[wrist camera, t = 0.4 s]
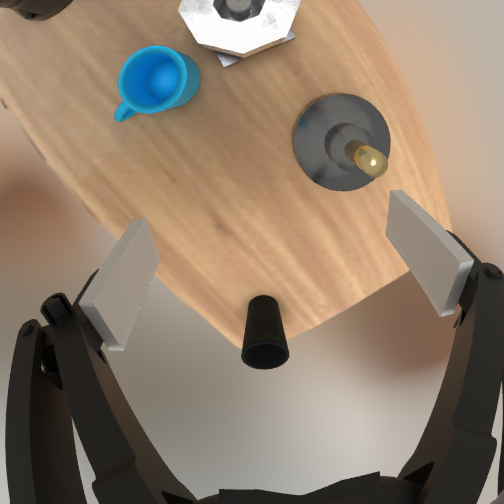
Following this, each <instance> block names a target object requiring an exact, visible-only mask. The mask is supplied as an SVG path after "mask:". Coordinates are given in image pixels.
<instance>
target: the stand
mask: <svg viewBox="0 0 504 504" xmlns="http://www.w3.org/2000/svg"><path fill="white" fill-rule="evenodd" d="M261 10H262V7H261V5H260V3H259V2H258V0H224V1H223V2H222V4H221V6H220V9H219V11H218V14H219V16H220V17H221V19H226V20H230V21H234V22H239V23H242V22H244V21H247V20H249V19H252V18H254V17H257V16H259V15H260V13H261ZM294 39H295V36H294V34H293V32H292V30H291V29H290V28H289V31H288V33H287V36H286V37H285V39H284V40H283V42H282V43H279V44H277V45H280V44H283V43H285V42H288V41H291V40H294ZM277 45H274V46H271V47H269V48H266V49H264V50H261V51H259V52H257V53H260V52H262V51H265V50H267V49H270V48H272V47H275V46H277ZM214 51H215V50H214ZM215 53H216V54H217V56H218V58H219V60H220V61H221V63H222V65H223V66H224V68H226V67H228V66H231V65H233V64H235V63H237V62H239V61H241V60H244V59H246V58H248V57H250V56H253V55H255V54H257V53H254V54H252V55H250V56H247V57H245V58H243V57H239V56H236V55H232V54H228V53H224V52H220V51H215Z"/></svg>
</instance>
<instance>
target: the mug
mask: <svg viewBox="0 0 504 504" xmlns="http://www.w3.org/2000/svg"><path fill="white" fill-rule="evenodd" d="M199 83H200V72H199V69H198V67H197V65H196V63H195V62H194V61H193V60H192V59H190V58H189V57H188V56H186V55H184V54H182V53H180V52H178V51H175V50H173V49H171V48H168V47H165V46H149V47H146V48H142V49H140V50H138V51H137V52H136V53H134V54H133V55H131V56H130V57H129V59H128V60H127V61H126V62H125V63H124V65H123V67H122V69H121V72H120V74H119V81H118V87H119V93H120V96H121V97H122V99H123V102H122V103H121V104H120V106H119V107H118V108H117V110H116V112H115V114H114V118H115V120H116V121H117V122H122V121H124V120H126V119H128V118H129V117H131V116H133V115H134V114H135V113H137V112H140V113H155V112H159V111H163V110H167V109H171V108H174V107H178V106H181V105H183V104H185V103H186V102H188V101H189V100H190V99H191V98H192V97H193V96H194V95H195V93H196V91H197V89H198V88H199Z"/></svg>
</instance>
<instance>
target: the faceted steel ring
mask: <svg viewBox="0 0 504 504" xmlns="http://www.w3.org/2000/svg"><path fill="white" fill-rule="evenodd" d="M223 1H224V0H182V2H181V5H180V7H179V9H178V12H179V13H180V15H181V16H182V18H183V19H184V21H185V23H186V24H187V26H188V27H189V29H190V31H191V32H192V34H193V35H194V37H195V39H196V40H197V42H198V43H199V44H200V45H201V46H203V47H204V48H206V49H211V50H215V51H220V52H224V53H228V54H232V55H236V56H239V57H243V58H245V57H247V56H250V55H252V54H254V53H257V52H259V51H261V50H264V49H266V48H269V47H271V46H274V45H277V44H279V43H282V42H283V40H284V39H285V37H286V36H287V33H288V31H289V28H290V26H291V23H292V21H293V19H294V16H295V14H296V12H297V9H298V7H299V5H300V2H301V0H258V2H259V3H260V5H261V7H262V10H261V13H260V15H259V16H257V17H254V18H252V19H249V20H247V21H244V22H242V23H239V22H234V21H230V20H226V19H221V17H220V16H219V14H218V11H219V9H220V6H221V4H222V2H223Z"/></svg>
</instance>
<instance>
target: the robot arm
mask: <svg viewBox="0 0 504 504" xmlns="http://www.w3.org/2000/svg"><path fill="white" fill-rule="evenodd" d="M71 1H72V0H0V8H10V9H12V10H13V11H15V12H16V13H17V14H19V15H20V16H21V17H23V18H25V19H27V20H34V21H41V20H45V19H48V18H50V17H52V16H54V15H56V14H57V13H59V12H60V11H61V10H63V9H64V8H65V7H66V6H67V5H68V4H69V3H70V2H71ZM386 236H387V238H388V239H389V240H390V242H391V243H392V244H393V246H394V247H395V249H396V250H397V251H398V253H399V254H400V256H401V257H402V258H403V260H404V261H405V263H406V264H407V266H408V267H409V269H410V270H411V271H412V273H413V275H414V276H415V278H416V279H417V281H418V282H419V284H420V285H421V287H422V288H423V290H424V292H425V293H426V294H427V296H428V298H429V300H430V301H431V303H432V304H433V306H434V308H435V309H436V311H437V313H438V314H439V316H440V317H442V316H446V315H449V314H453V313H454V311H455V308H456V306H457V304H458V303H459V305H460V306H461V308H462V310H461V312H460V314H459V316H458V318H457V320H456V322H455V324H454V328H455V327H456V326H457V328H456V334H455V338H454V342H453V346H452V350H451V354H450V358H449V362H448V365H447V369H446V372H445V376H444V379H443V382H442V385H441V389H440V392H439V394H438V397H437V400H436V403H435V406H434V408H433V411H432V413H431V416H430V418H429V421H428V423H427V426H426V428H425V430H424V433H423V435H422V437H421V439H420V442H419V444H418V446H417V448H416V450H415V452H414V454H413V455H412V456H411V458H410V459H409V460H408V462H407V463H406V464H405V466H404V467H403V468H402V470H401V472H400V473H399V475H398V477H397V478H396V477H389V476H380V471H378V472H374V473H371V474H367V475H363V476H359V477H354V478H350V479H345V480H341V481H339V482H336V483H334V484H332V485H329V486H327V487H324V488H321V489H319V490H316V491H314V492H311V493H308V494H305V495H291V494H283V493H276V492H270V491H264V490H259V489H255V490H233V489H232V490H231V489H219V494H216V495H212V496H208V497H205V498H203V499H200V500H197V499H196V498H195V497H194V496H193V494H192V493H191V492H190V491H189V490H188V489H187V488H186V487H185V486H184V485H183V484H182V483H181V482H179V481H178V480H177V479H176V477H175V476H174V475H173V473H172V472H171V471H170V469H169V468H168V467H167V465H166V464H165V462H164V461H163V460H162V458H161V457H160V455H159V454H158V452H157V451H156V449H155V448H154V446H153V444H152V443H151V441H150V440H149V438H148V437H147V435H146V433H145V432H144V430H143V428H142V427H141V425H140V423H139V422H138V420H137V418H136V416H135V415H134V413H133V411H132V409H131V407H130V406H129V404H128V402H127V400H126V398H125V396H124V394H123V392H122V390H121V388H120V386H119V384H118V382H117V380H116V378H115V376H114V374H113V372H112V370H111V368H110V365H109V363H108V361H107V359H106V356H105V354H104V352H103V351H102V350H101V345H102V343H103V342H104V343H105V344H106V346H107V347H108V348H109V350H118V351H124V349H125V347H126V344H127V341H128V338H129V336H130V333H131V330H132V328H133V325H134V322H135V320H136V317H137V314H138V312H139V309H140V307H141V304H142V302H143V299H144V297H145V295H146V292H147V290H148V287H149V285H150V282H151V280H152V278H153V275H154V273H155V271H156V268H157V266H158V264H159V262H160V257H159V254H158V251H157V248H156V246H155V243H154V240H153V237H152V234H151V231H150V228H149V225H148V222H147V218H141V219H135V220H133V222H132V223H131V224H130V226H129V227H128V229H127V230H126V231H125V233H124V234H123V235H122V237H121V238H120V240H119V241H118V243H117V244H116V245H115V247H114V248H113V250H112V251H111V253H110V254H109V256H108V257H107V259H106V260H105V262H104V263H103V265H102V266H101V268H100V269H98V270H97V271H95V272H94V273H93V274H92V275H91V276H90V278H89V280H88V281H87V283H86V285H85V286H84V287H83V290H82V291H81V292H80V294H79V295H78V297H77V299H76V300H75V302H74V303H73V305H72V306H71V304H70V302H69V301H68V299H67V298H66V296H65V294H64V293H56V294H54V295H52V296H50V297H49V298H47V299H46V301H45V302H44V303H43V304H42V306H41V310H40V311H41V313H42V314H43V316H44V317H45V319H46V320H47V322H48V323H49V325H47V326H44V327H42V326H41V325H40V324H39V322H38V321H37V320H36V319H32V320H29V321H27V322H25V324H23V325H22V327H21V329H20V330H19V333H18V336H17V340H16V345H15V350H14V355H13V361H12V366H11V373H10V380H9V388H8V397H7V409H6V431H5V433H6V434H5V442H6V443H5V448H6V449H5V450H6V470H7V481H8V489H9V496H10V504H87V501H86V497H85V493H84V489H83V485H82V481H81V476H80V471H79V466H78V461H77V455H76V449H75V442H74V436H73V435H74V434H73V426H72V418H73V421H74V424H75V427H76V429H77V432H78V435H79V437H80V440H81V443H82V445H83V448H84V450H85V452H86V455H87V457H88V460H89V462H90V464H91V466H92V468H93V471H94V473H95V476H96V480H95V481H94V482H93V483H92V489H93V492H94V494H95V496H96V498H97V500H98V502H99V504H476V503H477V501H478V499H479V496H480V494H481V492H482V489H483V487H484V484H485V482H486V479H487V476H488V473H489V470H490V468H491V465H492V462H493V458H494V455H495V452H496V446H497V440H496V438H494V437H492V435H491V432H492V427H493V423H494V419H495V414H496V410H497V404H498V399H499V393H500V387H501V381H502V393H503V429H502V445H501V455H500V463H499V474H498V497H497V499H496V500H494V501H493V502H491V503H490V504H504V275H503V273H502V271H501V270H500V269H499V268H498V267H497V266H495V265H493V264H490V263H481V261H480V260H479V259H478V258H477V257H476V256H475V255H474V254H473V253H472V252H471V251H470V249H468V248H467V247H466V245H465V244H464V243H462V241H461V240H460V239H459V238H458V237H457V236H456V235H454V234H453V233H451V232H450V231H448V230H445V229H444V228H443V227H442V226H441V225H440V224H439V223H438V222H437V221H436V220H435V219H434V218H433V217H432V216H430V215H429V214H428V213H427V212H426V211H425V210H424V209H423V208H422V207H421V206H420V205H419V204H417V203H416V202H415V201H414V200H413V199H412V198H411V197H409V196H408V195H407V194H406V193H405V192H404V191H402V190H393V191H390V198H389V209H388V219H387V227H386ZM41 366H42V367H43V368H44V370H43V371H42V368H41Z"/></svg>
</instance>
